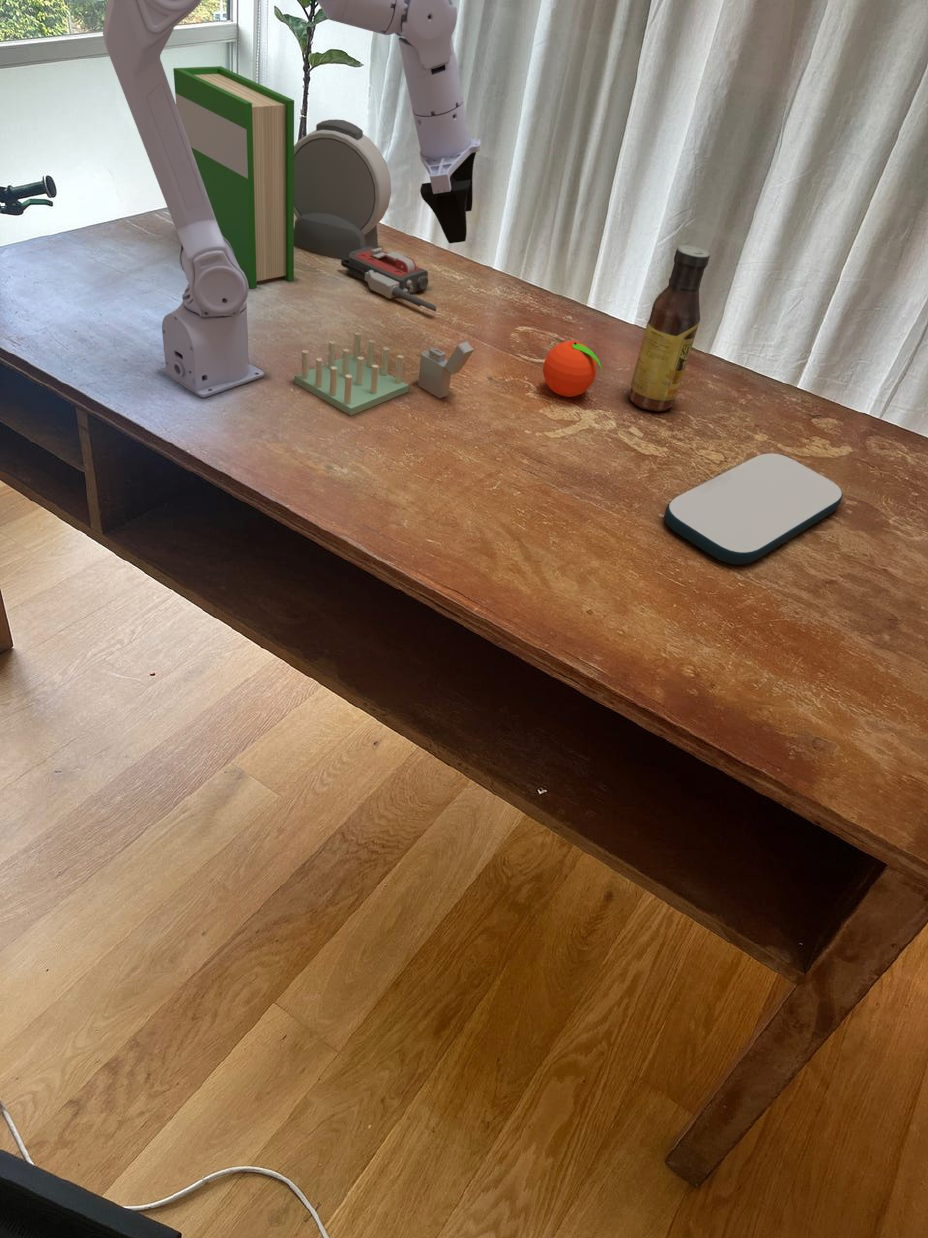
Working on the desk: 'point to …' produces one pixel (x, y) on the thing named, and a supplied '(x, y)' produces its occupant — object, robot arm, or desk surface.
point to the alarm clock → (338, 190)
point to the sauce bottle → (670, 333)
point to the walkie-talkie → (388, 274)
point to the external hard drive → (752, 507)
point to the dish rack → (352, 378)
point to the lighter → (441, 368)
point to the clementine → (570, 368)
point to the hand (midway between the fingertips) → (460, 225)
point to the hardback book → (243, 164)
